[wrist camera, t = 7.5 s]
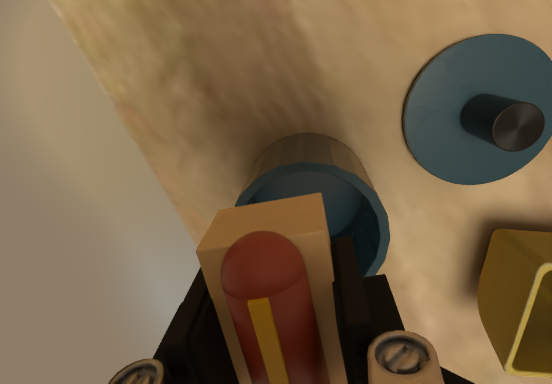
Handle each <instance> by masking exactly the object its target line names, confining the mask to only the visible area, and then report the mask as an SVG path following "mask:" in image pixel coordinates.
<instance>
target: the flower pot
mask: <svg viewBox="0 0 552 384" xmlns="http://www.w3.org/2000/svg"><path fill="white" fill-rule="evenodd" d="M478 309H479V314H480V318H481V321H482V323H483V326H484V328H485V330H486V332H487V335H488V337H489V339H490V341H491V343H492V346H493V348H494V350H495V352H496V354H497V356H498V358H499V360H500V362H501V365H502V367H503V369H504V371H505V372H506V373H507V374H510V375H518V376H528V377H546V378H552V232H540V231H525V230H512V229H497V230H495V231H494V232H493V233H492V236H491V240H490V243H489V247H488V250H487V254H486V258H485V261H484V265H483V268H482V271H481V275H480V280H479V287H478Z"/></svg>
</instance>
